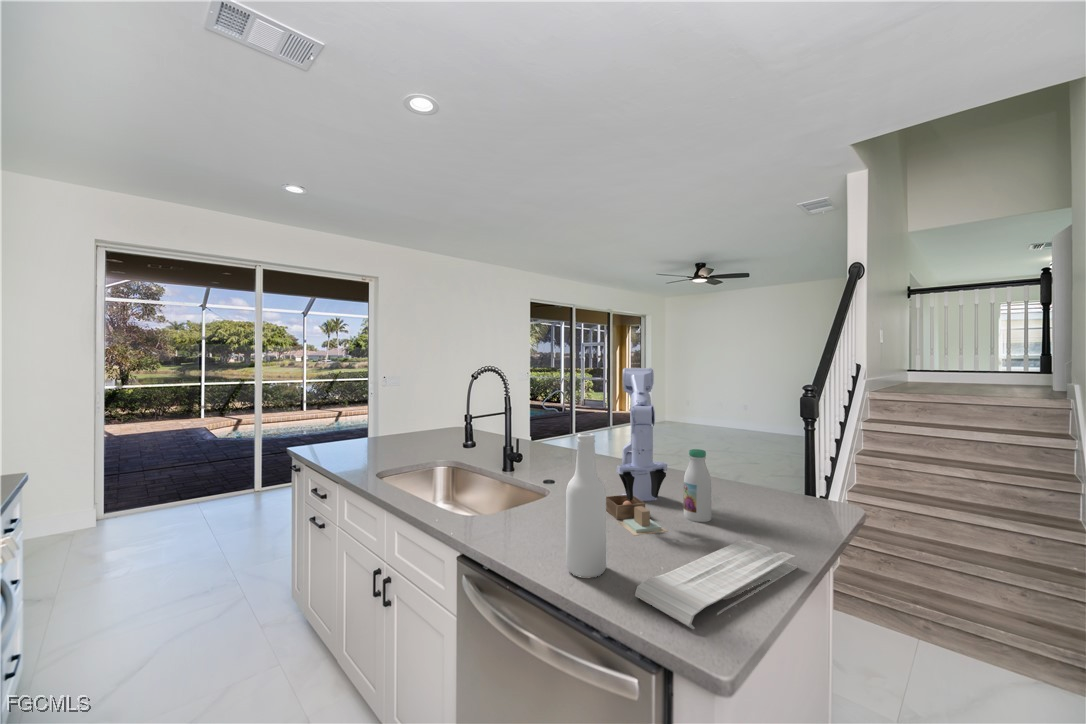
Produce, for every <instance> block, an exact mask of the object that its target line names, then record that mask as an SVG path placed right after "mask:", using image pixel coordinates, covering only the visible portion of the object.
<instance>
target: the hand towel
mask: <svg viewBox="0 0 1086 724" xmlns="http://www.w3.org/2000/svg"><path fill="white" fill-rule="evenodd" d="M795 558H796V555H793V554H790V553H789V552H786V551H785V552H784V551H780V552H775V551H774V550H773V549H772V548H771V547H769V546H766V545H763V544H759V543H757V542H755V541H753V540H747V539H745V538H744V539H740V540H737V542H733V543H731V544H729V545H727V546H725V547H722V548H720V549H718V550H715V551H713V552H711V553H709V554H707V555H705V556H702V557H699V558H697V559H696V560H693V561H690V562H689V563H686V564H684V565H681V566H680V567H679V566H678V568H675V569H673V570H671V571H668V572H666V573H662V574H660V575H656V576H653V577H649V578H647V579H646V580H644V581H643V582H642V583H639V584H638V585H637V586H636V590H635V593H634V596H635V597H636V598H638V599H639V598H640V599H639V600H641V601H643V602H645V603H647V604H648V605H650V606H651V605H652V606H651V607H654V608H655V609H657V610H659V612H662V613H664V614H665V615H667V616H669V617H671V618H673V619H674V620H675V621H677V622H679V623H681V624H683V626H684V625H685V627H688V628H689V629H691V630H695V629H696V627H695V626H694V625H693V624H692V623H693V620H694V618H695V616H696V615H697V614H698V613H700V612H701V611H702V610H704V609H705V608H706V607H709V606H711V605H712V604H715V603H717V602H719V601H720V600H722V599H723V600H725V601H726V600H728V599H732V598H734V597H736V596H739V595H740V594H743V593H745V592H746V591H745V590H747V591H749V590H750V589H748V588H751V589H753V588H752V586H755V585H757V586H759V585H760V584H759V583H761V584H762V585H760V586H761V587H760V586H759V587H758V588H757V587H756V586H755V587H756V590H755V589H754V590H752V591H750V592H751V593H750V592H748V593H747V594H748V595H747V594H745V595H744V596H742V597H740V598H738V599H737V600H735V601H733V602H732V603H730V604H729V605H727V606H725V607H723V608H722V609H720V610H719V611H718V612H717V613H716V615H715V616H716V617H717V616H718V615H720V614H722V613H723V612H725V611H727V610H728V609H730V608H732V607H733V606H735V605H737V604H738V603H739V604H740V603H741V602H742V601H744V600H746V599H747V598H749V597H751V596H753V595H755V594H756V593H758V592H760V591H762V590H763V589H765V588H766V587H768V586H769V585H771V584H773V583H774V582H776V581H778V580H780V579H782V578H783V577H784V576H786V575H789V574H790V573H792V572H793V571H794V570H796V569H797V568H799V565H795V564H793V563H790V562H789V561H790V560H793V559H795ZM770 579H771V580H770ZM766 580H770V581H769V582H768V581H766ZM764 581H766V582H764ZM762 582H764V584H763V583H762ZM765 583H766V584H765ZM758 584H759V585H758ZM759 590H760V591H759ZM744 591H745V592H744ZM742 592H743V593H742ZM754 593H755V594H754Z"/></svg>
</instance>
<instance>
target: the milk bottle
mask: <svg viewBox="0 0 1086 724" xmlns="http://www.w3.org/2000/svg"><path fill="white" fill-rule="evenodd" d="M688 452H689V453H688V454H689V456H688V457H689V463H688V465H687V468H686V470H685V473H684V477H683V517H684V519H686V520H687V521H689V522H695V523H708V522H709V521H712V477H711V474H710V472H709V469H708V467H707V465H706V456H707V452H706V450H704V449H698V448H697V449H696V448H695V449H689V451H688Z"/></svg>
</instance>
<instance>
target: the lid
mask: <svg viewBox="0 0 1086 724" xmlns="http://www.w3.org/2000/svg"><path fill="white" fill-rule="evenodd" d="M622 521H623V523H624V524H626V525H627V526H628V527H629V528H631V529H632V530H633V531H634V532H636V533H638V532H647V531H656V530H661V527H662V526H661V525H660V524H658V523H657V522H656V521H654V520H652V519H651V511H650V509H647V508H646V507H645V508H644V507H643V506H637V507H634V518H632V519H622ZM656 523H657V524H656ZM659 525H660V526H659Z"/></svg>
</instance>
